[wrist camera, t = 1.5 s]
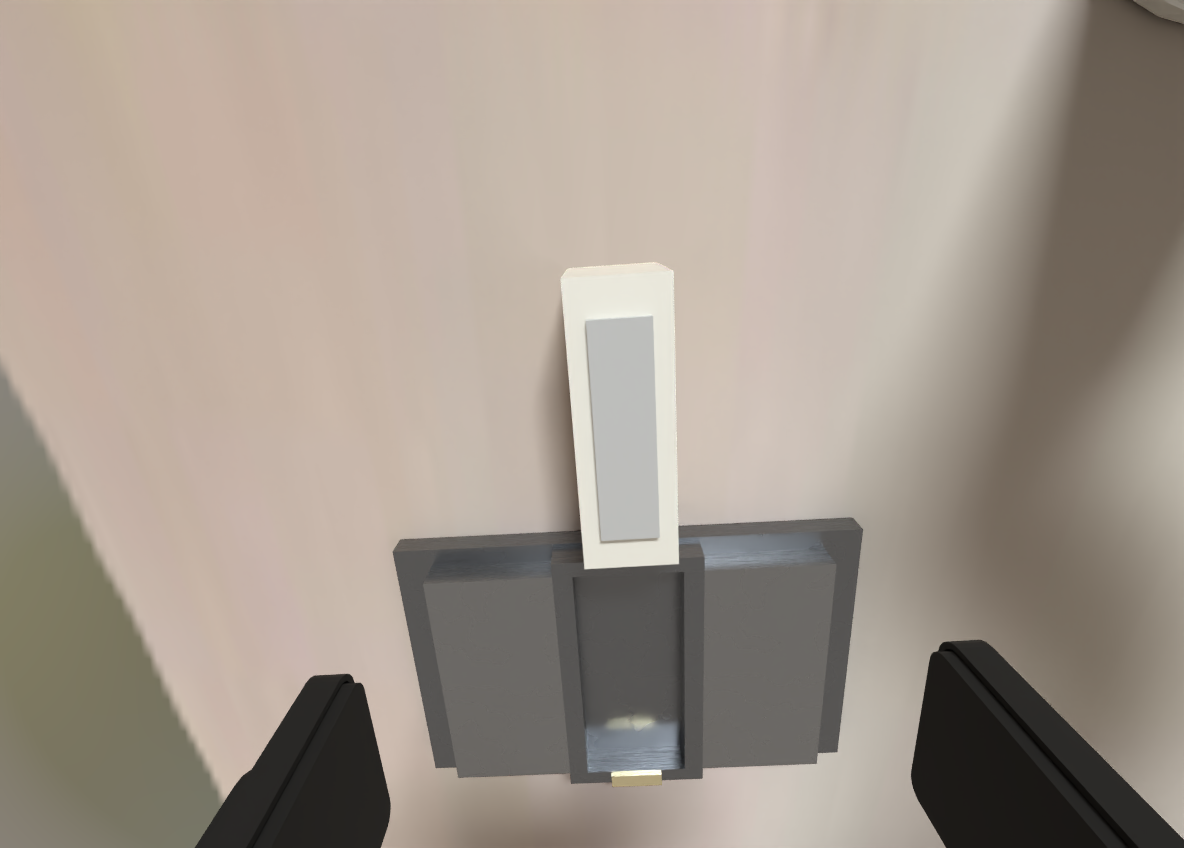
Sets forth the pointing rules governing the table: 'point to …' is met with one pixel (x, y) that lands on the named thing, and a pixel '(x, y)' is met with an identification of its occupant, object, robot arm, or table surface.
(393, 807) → the table surface
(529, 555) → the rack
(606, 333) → the blanking panel
